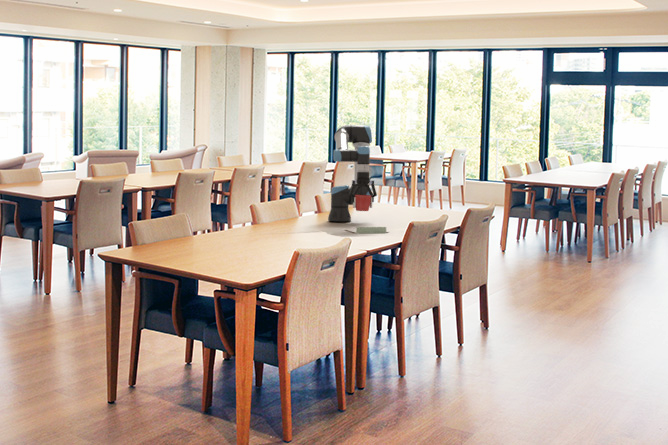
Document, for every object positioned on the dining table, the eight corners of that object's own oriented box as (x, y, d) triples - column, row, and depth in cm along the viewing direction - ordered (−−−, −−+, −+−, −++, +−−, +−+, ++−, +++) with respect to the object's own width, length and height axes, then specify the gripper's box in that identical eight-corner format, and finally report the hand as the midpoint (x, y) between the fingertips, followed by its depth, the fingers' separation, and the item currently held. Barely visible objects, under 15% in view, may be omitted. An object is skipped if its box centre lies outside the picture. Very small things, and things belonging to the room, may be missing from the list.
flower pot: (371, 210, 475) (371, 194, 475) (370, 211, 465) (370, 195, 464) (354, 210, 477) (354, 194, 476) (353, 211, 466) (353, 195, 465)
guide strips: (344, 230, 469) (344, 229, 469) (378, 230, 476) (378, 229, 476) (353, 233, 452) (353, 232, 452) (388, 232, 458) (388, 232, 458)
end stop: (356, 232, 454) (356, 227, 453) (384, 232, 459) (385, 226, 458) (357, 233, 452) (357, 227, 451) (386, 232, 457) (386, 227, 457)
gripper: (347, 171, 462) (346, 208, 464) (382, 171, 468) (382, 208, 470) (343, 171, 469) (343, 207, 471) (378, 171, 476) (377, 207, 477)
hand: (362, 207), depth 470 cm, fingers closed on flower pot, 10 cm apart
